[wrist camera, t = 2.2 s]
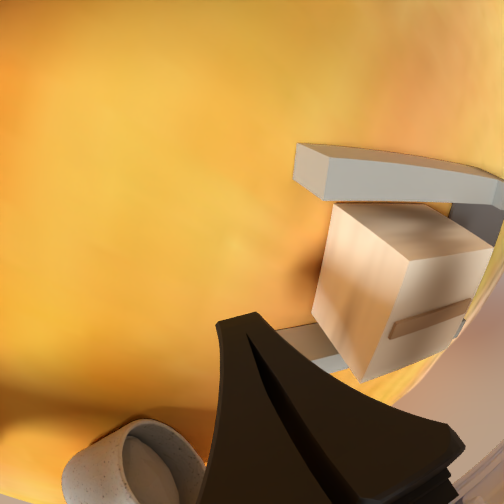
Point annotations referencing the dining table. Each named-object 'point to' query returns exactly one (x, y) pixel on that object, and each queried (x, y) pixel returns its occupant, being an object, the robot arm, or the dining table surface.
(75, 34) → the dining table surface
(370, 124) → the dining table surface
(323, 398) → the robot arm
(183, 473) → the ceramic mug
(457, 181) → the chute
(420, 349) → the block
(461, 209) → the mat
